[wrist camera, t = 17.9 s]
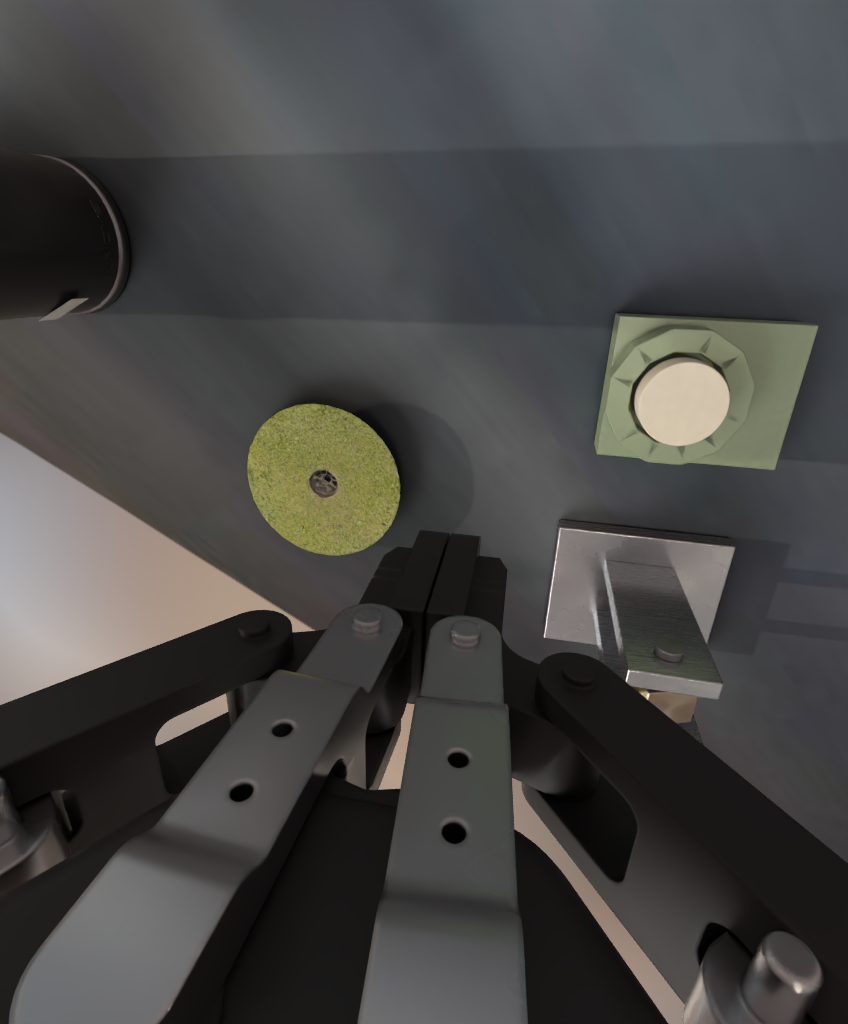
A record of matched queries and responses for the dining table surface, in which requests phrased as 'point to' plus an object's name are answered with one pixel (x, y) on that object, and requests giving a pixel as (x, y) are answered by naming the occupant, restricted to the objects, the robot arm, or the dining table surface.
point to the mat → (323, 479)
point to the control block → (735, 355)
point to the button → (681, 401)
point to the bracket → (641, 603)
